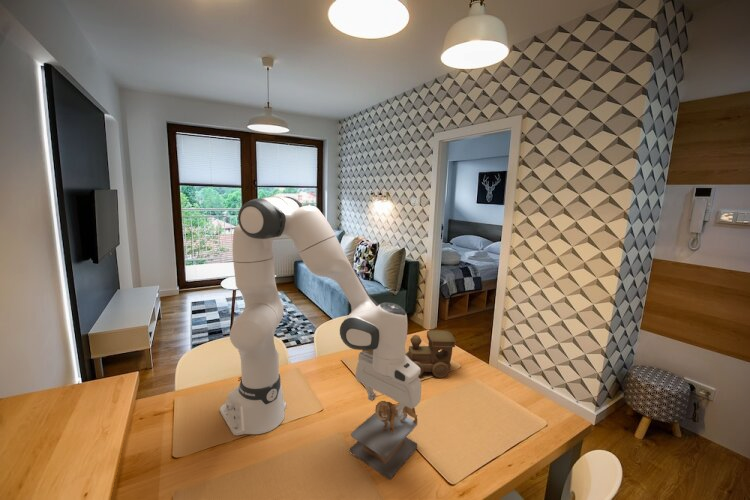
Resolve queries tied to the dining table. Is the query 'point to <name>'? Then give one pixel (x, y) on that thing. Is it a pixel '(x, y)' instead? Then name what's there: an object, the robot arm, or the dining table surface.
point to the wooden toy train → (433, 352)
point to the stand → (384, 444)
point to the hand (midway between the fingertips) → (384, 406)
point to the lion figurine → (392, 413)
